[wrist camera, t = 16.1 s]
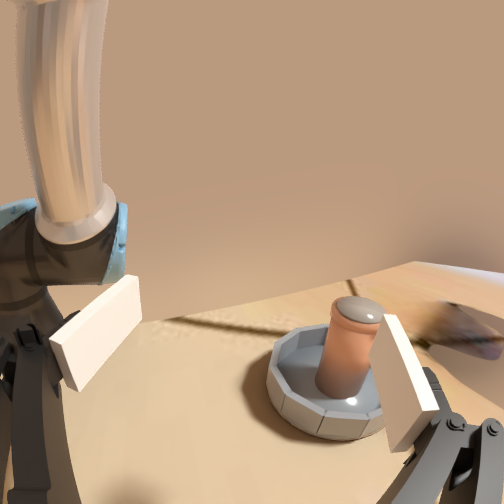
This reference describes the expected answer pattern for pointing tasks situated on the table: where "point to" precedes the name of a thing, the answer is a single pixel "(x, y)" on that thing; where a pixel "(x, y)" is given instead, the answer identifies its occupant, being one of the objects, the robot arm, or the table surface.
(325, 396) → the slate bowl
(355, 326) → the terracotta jar
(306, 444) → the table surface
